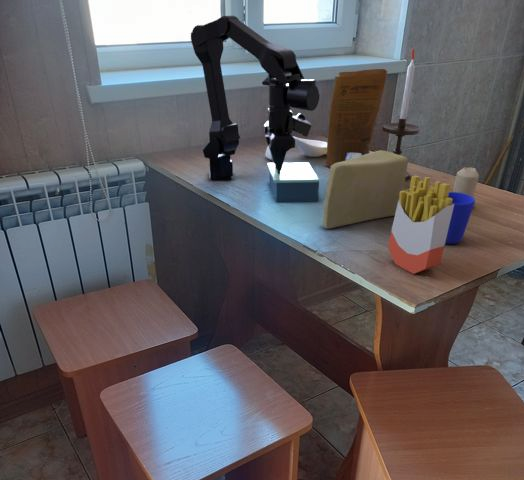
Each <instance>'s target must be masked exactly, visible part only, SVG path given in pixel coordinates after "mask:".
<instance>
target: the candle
mask: <svg viewBox="0 0 524 480" xmlns="http://www.w3.org/2000/svg"><path fill="white" fill-rule="evenodd" d="M479 177H480V174H479V172H478V171H477V168H475V167H467V166H464V167H462V168H461V169H459V170H458V171H457V172H456V176H455V179H454V180H455V181H454V184H453V188H452V192H457V193H463V194H466V195H469V196H471V197H473V198H474V196H475V192H476V189H477V185H478V182H479Z"/></svg>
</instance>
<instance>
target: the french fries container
mask: <svg viewBox="0 0 524 480" xmlns="http://www.w3.org/2000/svg"><path fill="white" fill-rule="evenodd" d="M420 179H421V178H420V176H419V175H411V178H410V183H409V188H406V189H405V190H404V189H403V191H400V194H399V200H398V205H397V209H396V213H395V216H394V217H393V222H392V226H391V230H390V236H389V242H388V251H389V253H390V255H391V258H392V260H393V262H394V264H395V265H396V266H398V267H400V268H402V269H404V270H405V271H408V272H409V273H411V274H413V275H415V274H418V273H421V272H425V271H428V270H430V269H432V268H435V267H436V266H438V265H441V262H442V257H443V253H444V249H445V245H446V244H445V241H446V237H447V233H448V229H449V224H450V220H451V216H452V212H453V208H454V204H453V203H452V200H453V199H452V198H448V195H449V192H450V189H451V185H452V184H451V183H446V182H444V183H441V181H438V180H437V181H435V182H434V186H431V187H430V185H431V184H430V183H431V177H429V176H424V178H423V180H420Z"/></svg>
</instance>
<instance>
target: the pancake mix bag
mask: <svg viewBox="0 0 524 480" xmlns="http://www.w3.org/2000/svg"><path fill="white" fill-rule="evenodd" d="M387 77H388V70H386V69H385V68H374V69H363V70H357V71H356V70H355V71H342V72H341V71H340V72H338V76H336V75H335V76H334V80H333V84H332V89H331V90H332V91H331V97H330V102H329V107H328V120H327V141H326V143H327V153H326V159H325V166H326V167H330V168H331V166H332V165H333V164H335V163H338V162H343V161H345V160H346V157H347V153H361V154H362V155H365V154H369V153H370V148H371V144H372V139H373V137H374V132H375V131H374V130H375V124H376V120H377V116H378V114H379V110H380V108H381V107H380V106H381V102H382V97H383V94H384V91H385V87H386V81H387Z"/></svg>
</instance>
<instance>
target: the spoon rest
mask: <svg viewBox="0 0 524 480" xmlns="http://www.w3.org/2000/svg"><path fill="white" fill-rule="evenodd" d="M292 136H293V135H292ZM293 137H294V139H295V147H297V148H298V149H299V150H300V151H301V152H302V153H303V155H304V156H306V157H311V158H318V157H321V156H323V155H325V154H326V155H327V141H322V140H316V139H307V138H306V139H305V138H301V137H297V136H293ZM264 155H265V157H266V158H267V159H268V160H271V161H273V158H272V155H271V152H270V149H269V146H268V145H267V147H266V150H265V154H264Z"/></svg>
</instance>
